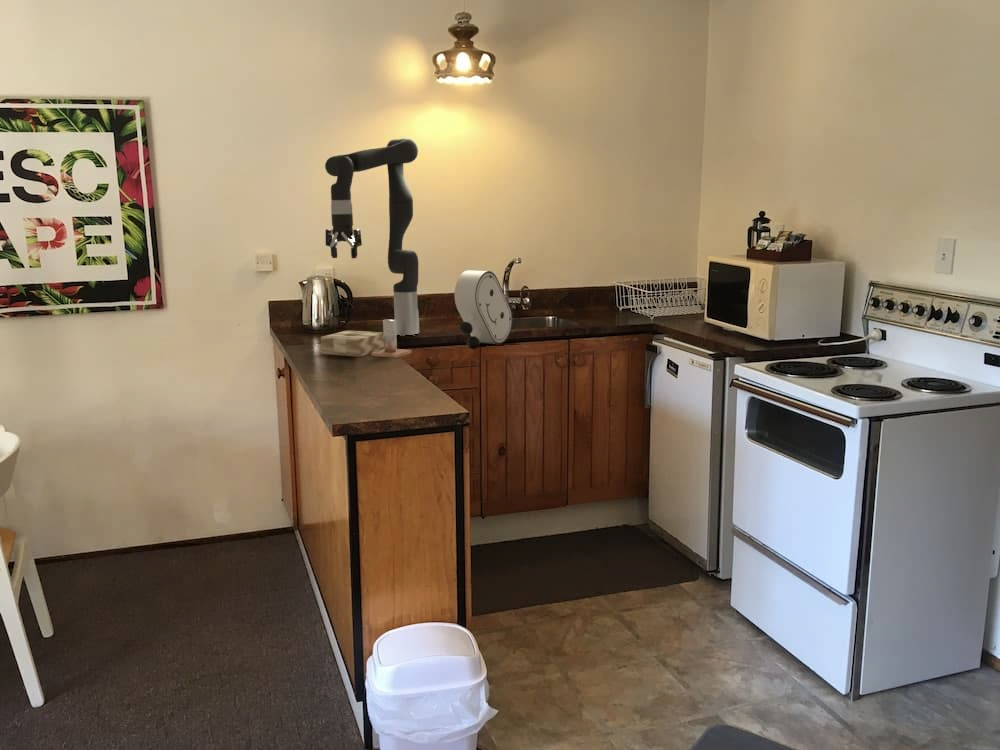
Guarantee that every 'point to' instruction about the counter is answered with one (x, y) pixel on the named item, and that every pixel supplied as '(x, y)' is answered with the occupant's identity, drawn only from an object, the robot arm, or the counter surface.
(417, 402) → the counter surface
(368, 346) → the bore block
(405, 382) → the counter surface
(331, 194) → the robot arm
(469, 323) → the robot
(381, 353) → the coaster
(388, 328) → the light grey cylinder
